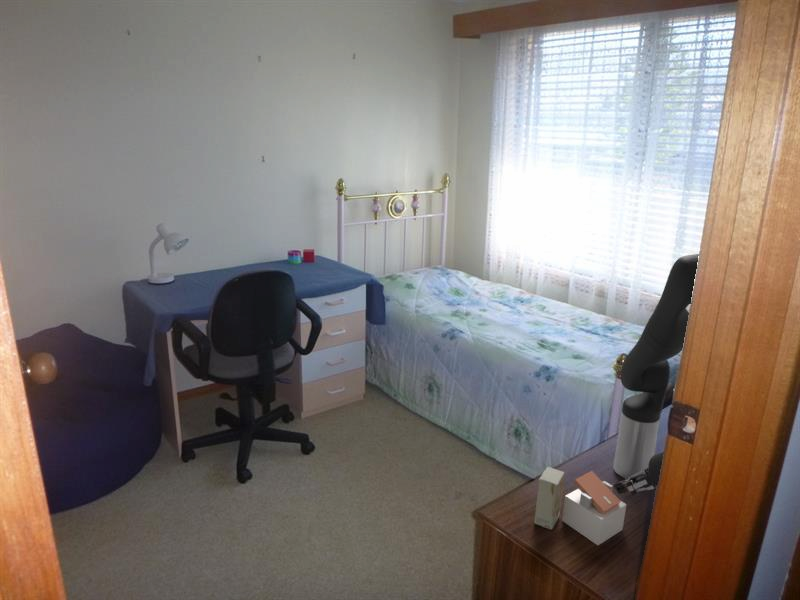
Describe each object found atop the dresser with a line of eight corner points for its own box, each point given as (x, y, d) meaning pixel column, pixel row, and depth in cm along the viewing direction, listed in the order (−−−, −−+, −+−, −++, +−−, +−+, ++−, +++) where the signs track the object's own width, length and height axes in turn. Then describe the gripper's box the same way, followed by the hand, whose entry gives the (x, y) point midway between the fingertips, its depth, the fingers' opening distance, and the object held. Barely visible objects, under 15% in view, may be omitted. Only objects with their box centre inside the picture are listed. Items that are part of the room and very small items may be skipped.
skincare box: (551, 530, 136) (557, 485, 132) (533, 524, 138) (538, 479, 134) (560, 515, 141) (565, 471, 137) (542, 508, 144) (547, 465, 140)
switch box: (586, 506, 144) (591, 472, 141) (622, 529, 137) (628, 494, 134) (562, 520, 139) (566, 485, 136) (597, 545, 132) (603, 508, 129)
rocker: (587, 476, 141) (592, 470, 139) (616, 507, 135) (621, 501, 134) (571, 485, 137) (575, 479, 136) (599, 517, 132) (604, 511, 130)
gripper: (687, 439, 122) (627, 462, 135) (650, 460, 114) (590, 482, 128) (708, 474, 119) (644, 494, 133) (671, 498, 112) (607, 516, 125)
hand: (617, 488), depth 130 cm, fingers closed
